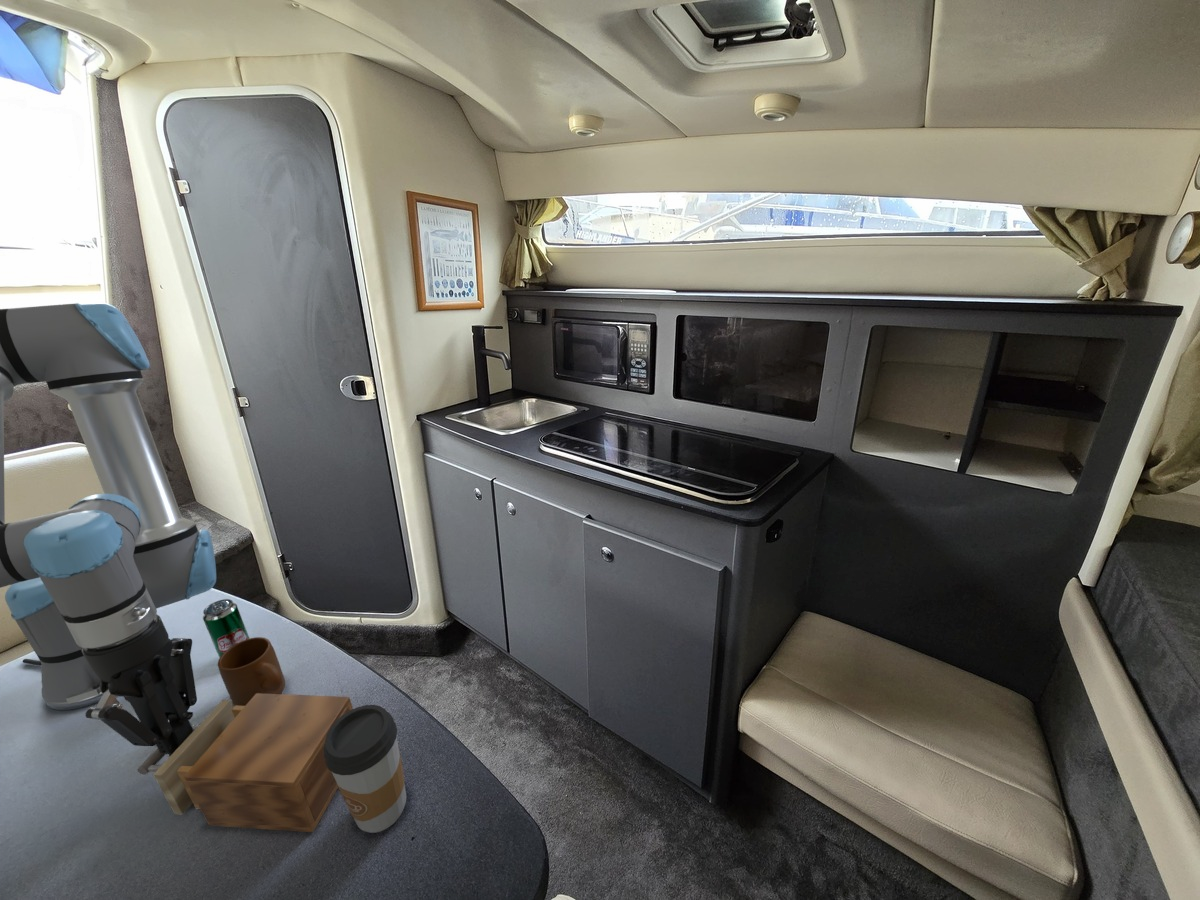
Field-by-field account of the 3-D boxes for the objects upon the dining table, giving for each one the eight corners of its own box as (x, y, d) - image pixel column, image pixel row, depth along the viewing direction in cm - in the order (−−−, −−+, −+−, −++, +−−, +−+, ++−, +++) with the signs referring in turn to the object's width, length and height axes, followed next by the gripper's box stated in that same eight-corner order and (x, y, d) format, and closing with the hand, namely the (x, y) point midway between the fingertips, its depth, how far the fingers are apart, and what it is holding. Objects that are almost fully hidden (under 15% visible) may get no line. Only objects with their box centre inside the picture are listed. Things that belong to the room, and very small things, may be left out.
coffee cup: (333, 829, 64) (303, 748, 59) (381, 770, 71) (358, 693, 66) (383, 854, 61) (356, 772, 56) (427, 790, 68) (408, 712, 63)
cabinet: (208, 825, 65) (183, 776, 62) (274, 738, 77) (256, 693, 73) (313, 832, 64) (293, 782, 60) (363, 743, 76) (349, 696, 72)
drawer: (135, 811, 66) (112, 772, 63) (204, 734, 77) (187, 698, 74) (269, 820, 65) (251, 780, 62) (321, 740, 75) (308, 703, 72)
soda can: (226, 673, 90) (204, 620, 85) (219, 659, 93) (197, 607, 88) (258, 656, 93) (238, 605, 89) (250, 644, 96) (231, 593, 92)
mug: (312, 695, 84) (297, 652, 81) (267, 731, 78) (249, 687, 75) (270, 671, 90) (254, 630, 86) (225, 703, 83) (206, 661, 80)
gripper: (95, 671, 55) (171, 808, 64) (191, 596, 68) (244, 720, 76) (34, 669, 56) (118, 805, 65) (141, 595, 68) (199, 718, 77)
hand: (186, 759), depth 71 cm, fingers closed
